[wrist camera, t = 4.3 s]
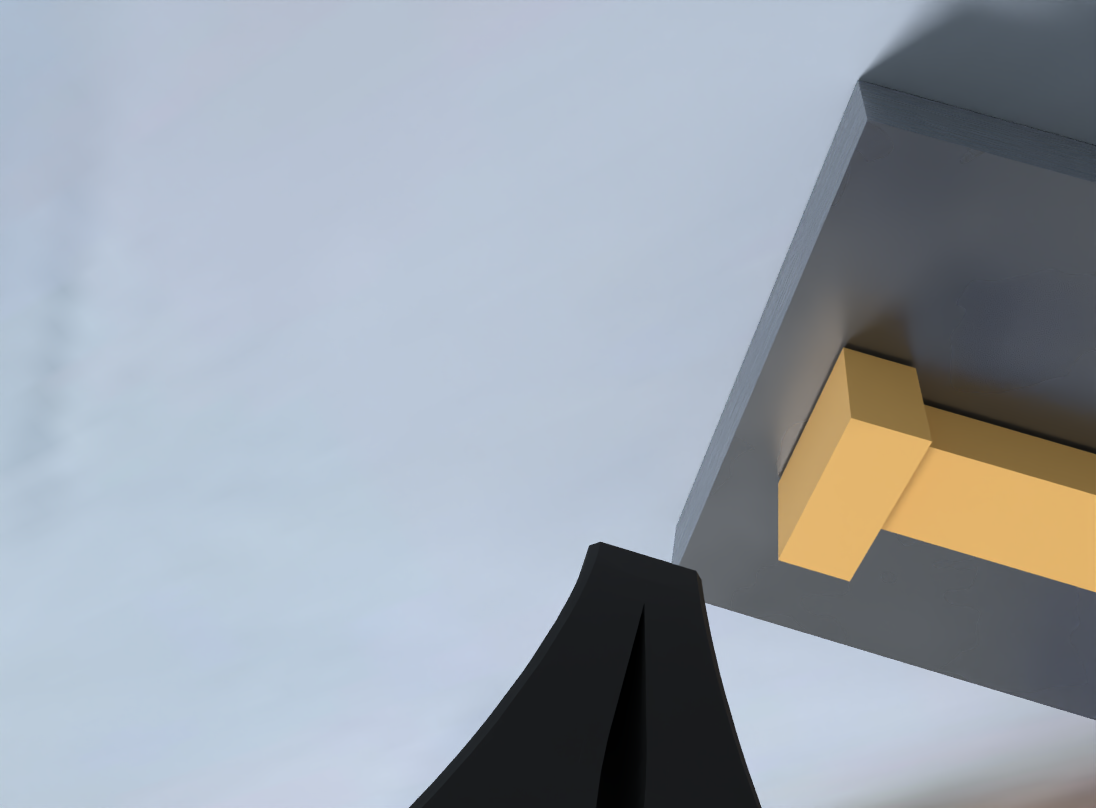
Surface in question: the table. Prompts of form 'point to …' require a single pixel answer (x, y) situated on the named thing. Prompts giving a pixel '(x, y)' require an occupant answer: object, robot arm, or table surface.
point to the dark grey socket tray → (944, 377)
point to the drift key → (930, 482)
